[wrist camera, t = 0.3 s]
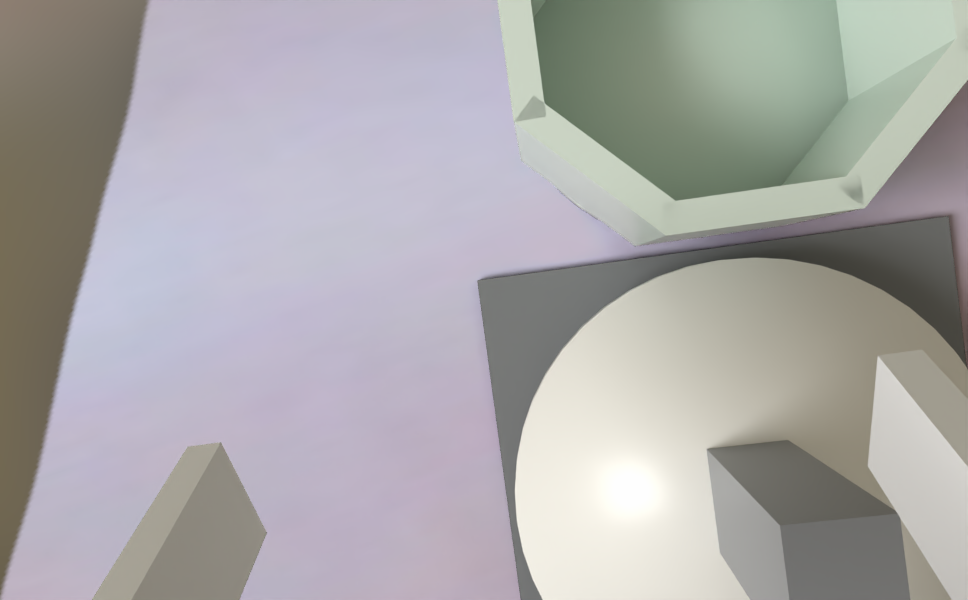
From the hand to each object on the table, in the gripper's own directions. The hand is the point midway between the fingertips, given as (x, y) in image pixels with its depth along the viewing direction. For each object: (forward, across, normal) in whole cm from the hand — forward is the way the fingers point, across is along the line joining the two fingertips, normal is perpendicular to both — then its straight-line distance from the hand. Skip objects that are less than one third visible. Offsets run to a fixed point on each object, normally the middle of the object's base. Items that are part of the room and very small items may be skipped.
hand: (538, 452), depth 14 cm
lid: (+11, -6, +12) cm, 17 cm away
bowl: (+19, -7, -3) cm, 20 cm away
